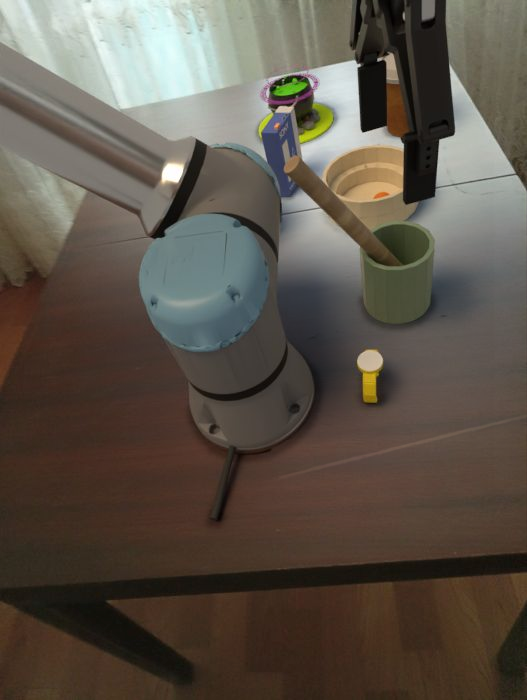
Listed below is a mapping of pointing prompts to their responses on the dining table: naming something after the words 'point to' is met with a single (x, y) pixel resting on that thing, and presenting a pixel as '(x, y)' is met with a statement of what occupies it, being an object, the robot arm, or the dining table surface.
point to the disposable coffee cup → (394, 100)
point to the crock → (399, 273)
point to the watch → (370, 373)
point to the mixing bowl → (370, 184)
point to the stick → (338, 211)
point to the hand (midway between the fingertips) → (394, 160)
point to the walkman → (282, 145)
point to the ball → (381, 195)
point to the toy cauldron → (298, 104)
